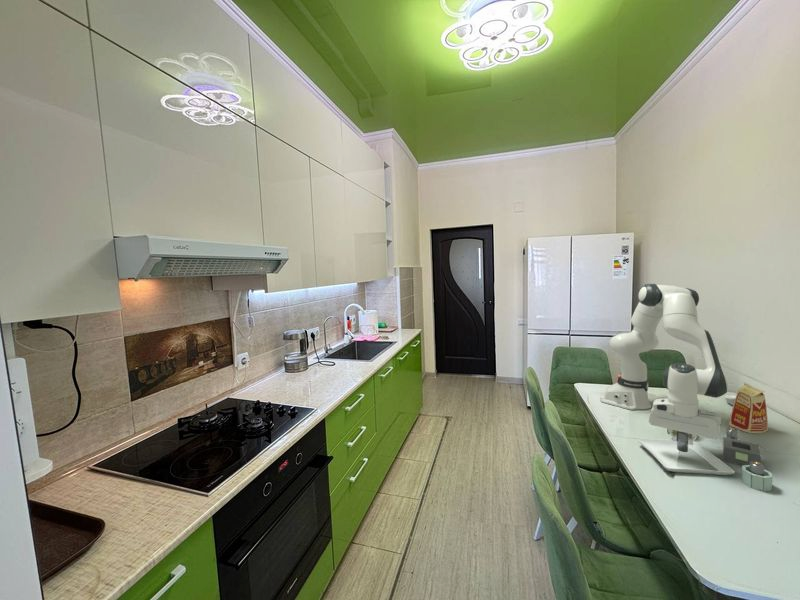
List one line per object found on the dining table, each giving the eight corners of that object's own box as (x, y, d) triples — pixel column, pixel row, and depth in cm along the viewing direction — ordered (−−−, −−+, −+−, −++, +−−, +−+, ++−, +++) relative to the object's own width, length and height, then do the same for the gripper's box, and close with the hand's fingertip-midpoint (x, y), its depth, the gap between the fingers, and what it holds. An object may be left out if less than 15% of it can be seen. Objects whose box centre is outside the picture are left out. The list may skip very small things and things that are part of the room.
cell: (677, 446, 126) (677, 428, 125) (688, 449, 123) (688, 430, 123) (676, 450, 123) (676, 431, 123) (687, 453, 121) (687, 433, 121)
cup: (742, 487, 107) (742, 472, 107) (741, 477, 112) (741, 462, 111) (772, 496, 102) (773, 480, 102) (770, 485, 107) (770, 470, 107)
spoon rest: (722, 399, 171) (722, 386, 171) (755, 404, 164) (755, 390, 163) (728, 416, 153) (729, 402, 153) (765, 423, 146) (766, 407, 145)
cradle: (723, 462, 120) (723, 447, 120) (723, 451, 127) (723, 436, 127) (760, 472, 114) (760, 456, 113) (757, 459, 121) (758, 444, 120)
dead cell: (749, 484, 107) (750, 463, 106) (748, 479, 109) (749, 458, 109) (764, 488, 105) (764, 466, 104) (763, 483, 107) (763, 462, 106)
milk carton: (728, 424, 146) (729, 381, 144) (747, 422, 147) (748, 379, 145) (752, 434, 137) (753, 389, 135) (771, 432, 138) (773, 387, 136)
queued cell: (726, 446, 130) (726, 428, 129) (726, 443, 132) (726, 425, 131) (737, 449, 128) (738, 431, 127) (737, 446, 130) (737, 428, 129)
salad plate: (694, 447, 131) (694, 439, 131) (737, 481, 111) (737, 471, 110) (636, 445, 136) (636, 437, 136) (666, 477, 115) (666, 468, 115)
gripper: (721, 411, 117) (720, 447, 118) (650, 398, 131) (650, 431, 133) (721, 417, 113) (720, 455, 114) (648, 403, 127) (648, 437, 128)
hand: (682, 442), depth 123 cm, fingers closed on cell, 3 cm apart
